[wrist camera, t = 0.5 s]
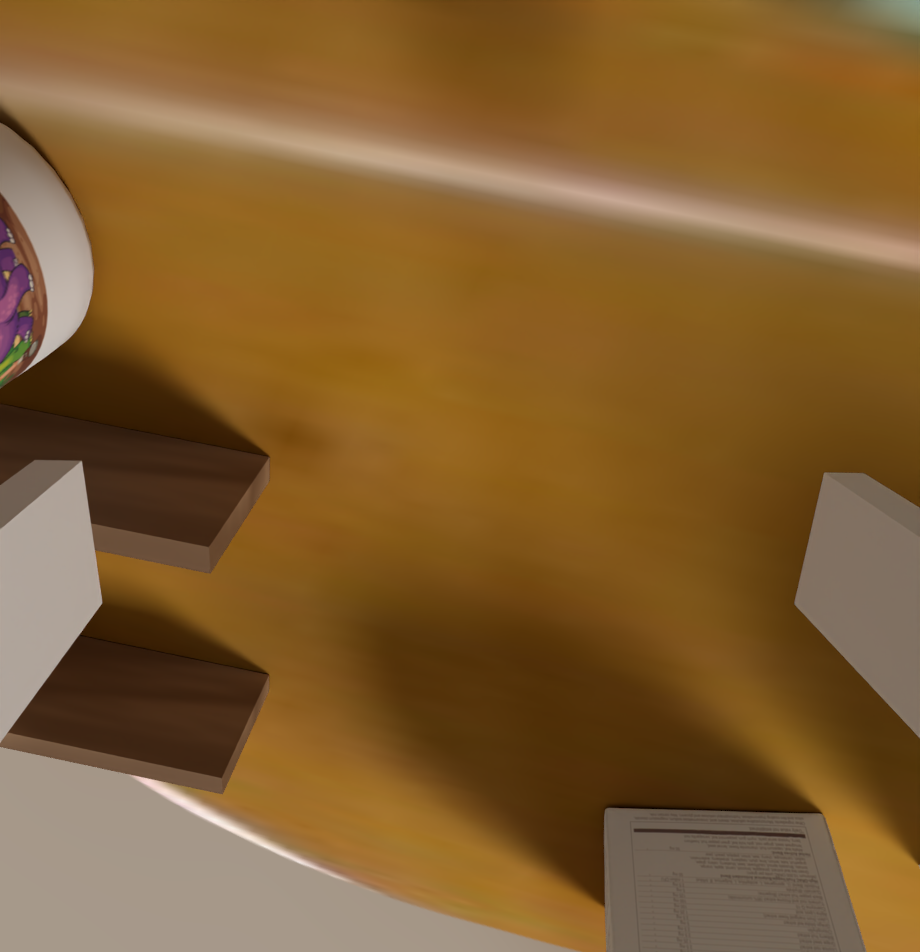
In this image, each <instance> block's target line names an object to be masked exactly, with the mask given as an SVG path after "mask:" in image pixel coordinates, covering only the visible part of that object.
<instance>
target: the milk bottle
mask: <svg viewBox="0 0 920 952" xmlns="http://www.w3.org/2000/svg"><path fill="white" fill-rule="evenodd" d="M93 277H94V262H93V256H92V247H91V242H90V239H89V236H88V233H87V230H86V227H85V223H84V220H83V218H82V216H81V214H80V212H79V210H78V208H77V206H76V204H75V202H74V200H73V198H72V195H71V193H70V192H69V191H68V189H67V188H66V187H65V185H64V184H63V182H62V181H61V179H60V178H59V176H58V175H57V173H56V172H55V170H54V169H53V168H52V167H51V166H50V165H49V164H48V163H47V162H46V161H45V160H44V159H43V158H42V156H41V155H40V154H39V153H38V152H37V151H36V150H35V148H34V147H33V146H31V145H30V144H29V143H27V142H26V141H25V140H24V139H22V138H21V137H20V136H19V135H18V134H16V133H15V132H14V131H13V130H12V129H10V128H9V127H7V126H5V125H4V124H2V123H0V388H1V387H3V386H4V385H6V384H7V383H9V382H10V381H12V380H13V379H15V378H16V377H17V376H19V375H20V374H22V373H23V372H25V371H26V370H28V369H29V368H31V367H32V366H33V365H35V364H36V363H38V362H39V361H41V360H42V359H44V358H45V357H46V356H48V355H49V354H50V353H52V352H53V351H54V350H56V349H57V348H58V347H59V346H61V345H62V344H63V343H65V342H66V341H67V340H68V339H69V338H70V337H71V336H72V335H73V334H74V333H75V332H76V330H77V329H78V327H79V326H80V325H81V323H82V321H83V319H84V317H85V315H86V312H87V309H88V306H89V303H90V299H91V295H92V291H93Z"/></svg>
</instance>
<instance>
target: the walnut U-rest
mask: <svg viewBox="0 0 920 952" xmlns="http://www.w3.org/2000/svg"><path fill="white" fill-rule="evenodd" d="M34 460H64V461H82V466H83V472H84V479H85V486H86V493H87V500H88V507H89V514H90V521H91V528H92V534H93V541H94V548H95V550H97V551H102V552H107V553H112V554H117V555H122V556H127V557H132V558H136V559H141V560H146V561H151V562H156V563H161V564H166V565H171V566H176V567H181V568H186V569H191V570H196V571H200V572H205V573H211V572H212V570H213V569H214V567H215V566H216V564H217V562H218V561H219V559H220V558H221V556H222V555H223V553H224V551H225V550H226V548H227V547H228V545H229V544H230V542H231V540H232V539H233V537H234V536H235V534H236V533H237V531H238V529H239V528H240V526H241V525H242V523H243V522H244V520H245V519H246V517H247V515H248V514H249V512H250V511H251V509H252V508H253V506H254V504H255V503H256V501H257V500H258V498H259V497H260V495H261V493H262V492H263V490H264V489H265V487H266V486H267V484H268V482H269V470H270V457H267V456H262V455H257V454H252V453H247V452H242V451H237V450H232V449H227V448H222V447H216V446H211V445H206V444H201V443H196V442H191V441H186V440H181V439H176V438H171V437H166V436H161V435H156V434H150V433H145V432H140V431H135V430H130V429H125V428H120V427H115V426H110V425H105V424H100V423H95V422H90V421H85V420H79V419H74V418H69V417H64V416H59V415H54V414H49V413H44V412H39V411H34V410H29V409H24V408H19V407H13V406H8V405H3V404H0V485H1V484H3V483H4V482H5V481H7V480H8V479H10V478H11V477H12V476H14V475H15V474H16V473H18V472H19V471H20V470H22V469H23V468H25V467H26V466H27V465H29V464H30V463H31V462H33V461H34ZM268 692H269V675H267V674H263V673H258V672H253V671H248V670H243V669H238V668H234V667H229V666H224V665H219V664H214V663H209V662H205V661H200V660H195V659H190V658H185V657H181V656H176V655H171V654H166V653H161V652H156V651H152V650H147V649H142V648H137V647H132V646H127V645H123V644H118V643H113V642H108V641H103V640H99V639H94V638H89V637H84V636H78V637H77V638H76V640H75V641H74V643H73V644H72V645H71V647H70V648H69V649H68V651H67V652H66V653H65V655H64V656H63V658H62V659H61V660H60V662H59V663H58V664H57V666H56V667H55V669H54V670H53V671H52V673H51V674H50V675H49V677H48V678H47V679H46V681H45V682H44V684H43V685H42V686H41V688H40V689H39V690H38V692H37V693H36V695H35V696H34V697H33V699H32V700H31V701H30V703H29V704H28V705H27V707H26V708H25V710H24V711H23V712H22V714H21V715H20V716H19V718H18V719H17V720H16V722H15V723H14V725H13V726H12V727H11V729H10V730H9V731H8V733H7V734H6V736H5V737H4V738H3V740H2V741H1V742H0V747H4V748H8V749H13V750H18V751H22V752H27V753H32V754H36V755H41V756H46V757H50V758H55V759H60V760H65V761H69V762H74V763H79V764H84V765H88V766H93V767H97V768H102V769H107V770H111V771H116V772H121V773H125V774H130V775H135V776H140V777H144V778H149V779H154V780H158V781H163V782H168V783H172V784H177V785H182V786H186V787H191V788H196V789H200V790H205V791H210V792H214V793H219V794H223V792H224V790H225V788H226V786H227V783H228V781H229V779H230V777H231V775H232V772H233V770H234V768H235V766H236V763H237V761H238V759H239V757H240V754H241V752H242V750H243V748H244V745H245V743H246V741H247V739H248V737H249V734H250V732H251V730H252V728H253V725H254V723H255V721H256V719H257V716H258V714H259V712H260V710H261V707H262V705H263V703H264V701H265V699H266V696H267V694H268Z"/></svg>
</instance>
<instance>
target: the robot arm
mask: <svg viewBox="0 0 920 952" xmlns="http://www.w3.org/2000/svg"><path fill="white" fill-rule="evenodd" d="M101 604H102V596H101V589H100V583H99V576H98V569H97V562H96V555H95V548H94V541H93V534H92V528H91V521H90V514H89V507H88V500H87V493H86V486H85V479H84V472H83V466H82V461H64V460H34V461H33V462H31V463H30V464H29V465H27V466H26V467H25V468H23V469H22V470H20V471H19V472H18V473H16V474H15V475H14V476H12V477H11V478H10V479H8V480H7V481H5V482H4V483H3V484H1V485H0V742H1V741H2V740H3V738H4V737H5V736H6V734H7V733H8V731H9V730H10V729H11V727H12V726H13V725H14V723H15V722H16V720H17V719H18V718H19V716H20V715H21V714H22V712H23V711H24V710H25V708H26V707H27V705H28V704H29V703H30V701H31V700H32V699H33V697H34V696H35V695H36V693H37V692H38V690H39V689H40V688H41V686H42V685H43V684H44V682H45V681H46V679H47V678H48V677H49V675H50V674H51V673H52V671H53V670H54V669H55V667H56V666H57V664H58V663H59V662H60V660H61V659H62V658H63V656H64V655H65V653H66V652H67V651H68V649H69V648H70V647H71V645H72V644H73V643H74V641H75V640H76V638H77V637H78V636H79V634H80V633H81V632H82V630H83V629H84V628H85V626H86V625H87V623H88V622H89V621H90V619H91V618H92V617H93V615H94V614H95V612H96V611H97V610H98V608H99V607H100V606H101ZM794 604H795V606H796V607H797V608H798V609H799V610H800V611H801V612H802V613H803V614H804V615H805V616H806V617H807V618H808V619H809V620H810V622H811V623H812V624H813V625H814V626H815V627H816V628H817V629H818V630H819V631H820V632H821V633H822V634H823V635H824V636H825V638H826V639H827V640H828V641H829V642H830V643H831V644H832V645H833V646H834V647H835V648H836V649H837V650H838V651H839V653H840V654H841V655H842V656H843V657H844V658H845V659H846V660H847V661H848V662H849V663H850V664H851V665H852V666H853V667H854V669H855V670H856V671H857V672H858V673H859V674H860V675H861V676H862V677H863V678H864V679H865V680H866V681H867V682H868V683H869V685H870V686H871V687H872V688H873V689H874V690H875V691H876V692H877V693H878V694H879V695H880V696H881V697H882V698H883V699H884V701H885V702H886V703H887V704H888V705H889V706H890V707H891V708H892V709H893V710H894V711H895V712H896V713H897V714H898V715H899V717H900V718H901V719H902V720H903V721H904V722H905V723H906V724H907V725H908V726H909V727H910V728H911V729H912V730H913V732H914V733H915V734H916V735H917V736H918V737H919V738H920V508H919V507H918V506H916V505H915V504H913V503H911V502H910V501H908V500H906V499H905V498H903V497H902V496H900V495H898V494H897V493H895V492H894V491H892V490H890V489H889V488H887V487H886V486H884V485H882V484H881V483H879V482H877V481H876V480H874V479H873V478H871V477H869V476H868V475H866V474H865V473H824V475H823V480H822V484H821V488H820V493H819V497H818V502H817V506H816V510H815V515H814V519H813V524H812V528H811V532H810V537H809V541H808V545H807V550H806V554H805V559H804V563H803V567H802V572H801V576H800V580H799V585H798V589H797V594H796V598H795V602H794Z"/></svg>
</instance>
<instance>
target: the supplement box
mask: <svg viewBox="0 0 920 952" xmlns="http://www.w3.org/2000/svg"><path fill="white" fill-rule="evenodd" d="M604 864H605V923H606V952H866V949H865V945H864V942H863V939H862V935H861V932H860V929H859V926H858V922H857V919H856V916H855V913H854V909H853V906H852V903H851V900H850V896H849V893H848V890H847V887H846V884H845V880H844V877H843V873H842V870H841V866H840V863H839V860H838V857H837V853H836V850H835V847H834V844H833V840H832V837H831V834H830V831H829V828H828V825H827V822H826V819H825V817H824V816H823V815H822V814H819V813H768V812H738V811H707V810H669V809H632V808H607V809H606V810H605V815H604Z"/></svg>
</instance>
